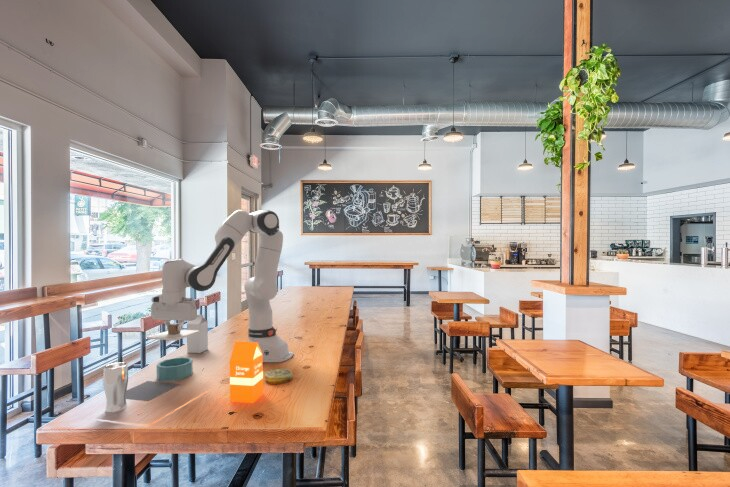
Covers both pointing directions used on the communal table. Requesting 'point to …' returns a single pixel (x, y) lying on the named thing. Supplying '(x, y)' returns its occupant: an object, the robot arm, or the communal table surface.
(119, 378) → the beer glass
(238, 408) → the communal table surface
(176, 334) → the lid
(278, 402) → the communal table surface
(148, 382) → the mat
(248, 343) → the orange juice
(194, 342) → the milk carton
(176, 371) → the bowl
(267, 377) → the decorated donut
